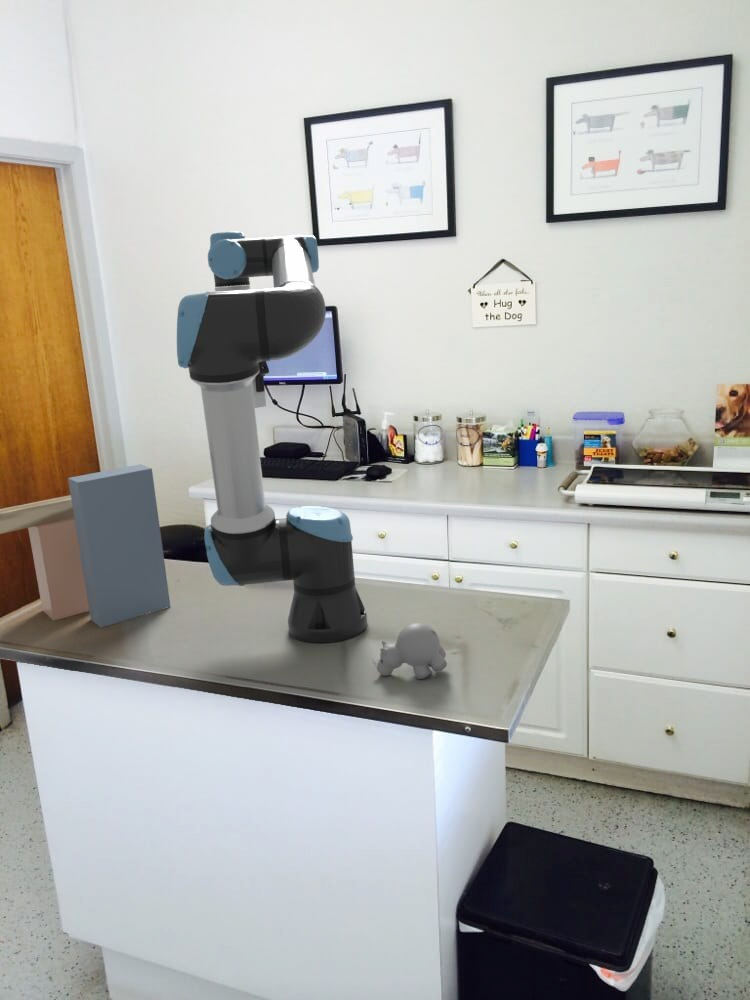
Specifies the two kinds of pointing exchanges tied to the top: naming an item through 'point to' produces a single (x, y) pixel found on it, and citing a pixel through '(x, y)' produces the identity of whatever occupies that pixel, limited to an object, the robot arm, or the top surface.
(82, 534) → the post
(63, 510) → the bar
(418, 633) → the round bodied animal figurine
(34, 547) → the step
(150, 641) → the top surface
